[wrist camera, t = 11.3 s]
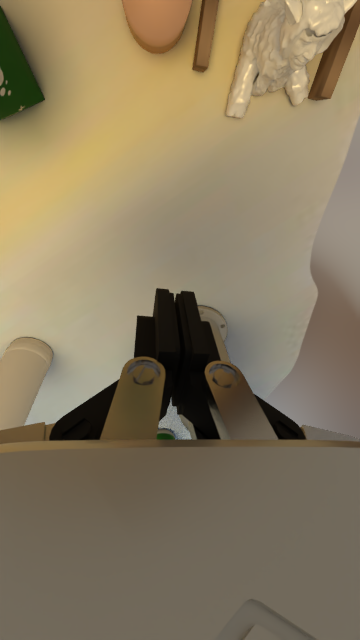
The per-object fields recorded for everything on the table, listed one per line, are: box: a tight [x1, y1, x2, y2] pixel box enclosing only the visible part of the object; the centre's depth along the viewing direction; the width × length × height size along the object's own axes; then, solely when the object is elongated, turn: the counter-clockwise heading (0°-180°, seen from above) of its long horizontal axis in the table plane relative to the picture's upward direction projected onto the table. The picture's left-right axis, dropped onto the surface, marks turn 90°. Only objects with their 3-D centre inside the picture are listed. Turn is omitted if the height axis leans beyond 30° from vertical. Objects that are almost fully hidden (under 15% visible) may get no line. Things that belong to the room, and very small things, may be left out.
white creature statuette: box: [226, 0, 357, 118], centre depth 24 cm, size 10×9×12 cm
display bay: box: [192, 0, 360, 101], centre depth 25 cm, size 11×15×3 cm
